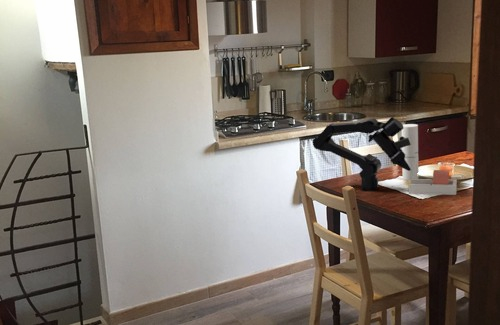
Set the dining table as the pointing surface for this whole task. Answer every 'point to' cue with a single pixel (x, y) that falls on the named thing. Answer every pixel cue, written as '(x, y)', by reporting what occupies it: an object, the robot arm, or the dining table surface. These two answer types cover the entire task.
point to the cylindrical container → (411, 151)
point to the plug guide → (432, 187)
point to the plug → (441, 177)
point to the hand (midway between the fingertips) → (409, 170)
